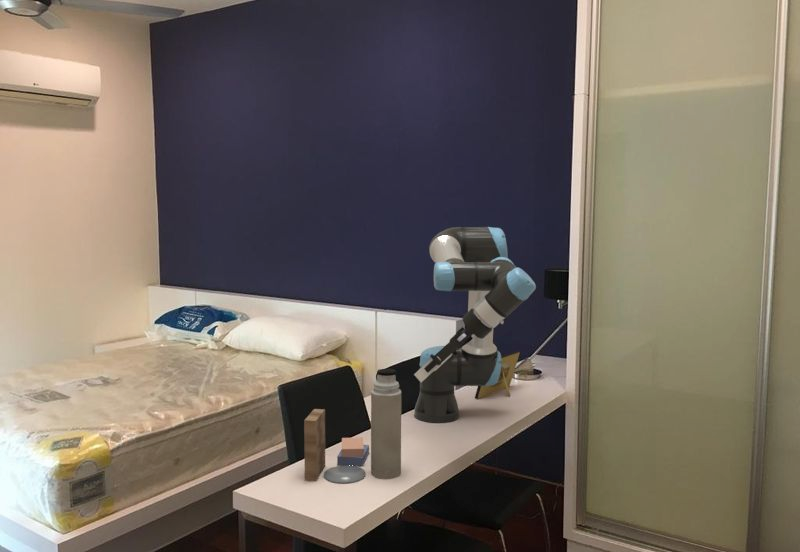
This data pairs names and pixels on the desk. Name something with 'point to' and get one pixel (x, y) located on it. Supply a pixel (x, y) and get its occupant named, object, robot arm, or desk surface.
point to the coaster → (344, 474)
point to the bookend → (314, 444)
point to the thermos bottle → (386, 426)
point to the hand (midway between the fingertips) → (425, 372)
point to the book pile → (352, 452)
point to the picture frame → (501, 376)
